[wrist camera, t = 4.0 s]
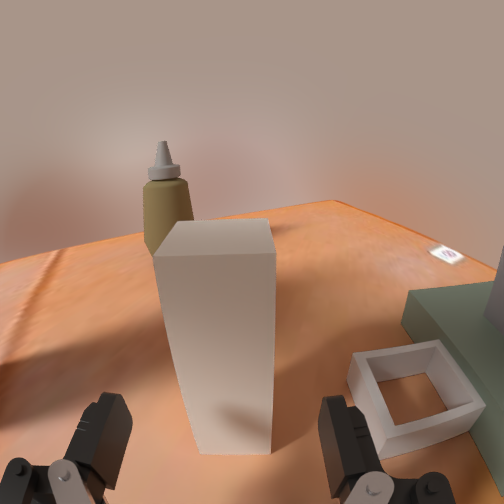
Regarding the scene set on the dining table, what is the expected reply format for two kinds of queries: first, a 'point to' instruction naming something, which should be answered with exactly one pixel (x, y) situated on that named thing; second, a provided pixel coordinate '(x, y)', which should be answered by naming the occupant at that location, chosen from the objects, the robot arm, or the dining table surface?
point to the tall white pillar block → (222, 329)
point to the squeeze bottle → (164, 199)
